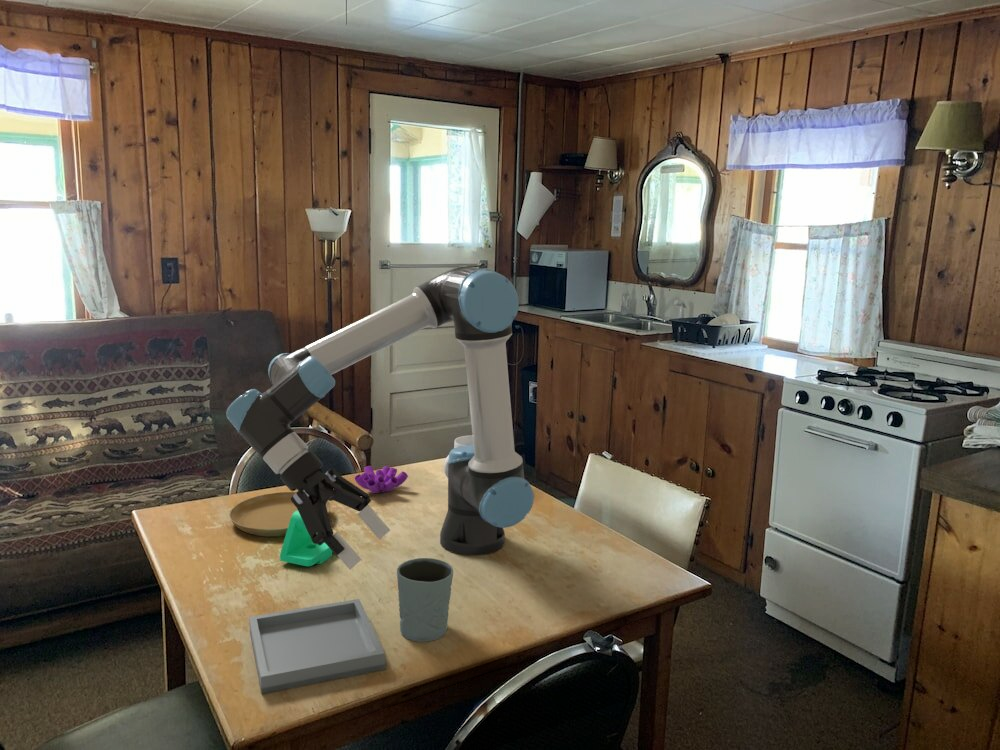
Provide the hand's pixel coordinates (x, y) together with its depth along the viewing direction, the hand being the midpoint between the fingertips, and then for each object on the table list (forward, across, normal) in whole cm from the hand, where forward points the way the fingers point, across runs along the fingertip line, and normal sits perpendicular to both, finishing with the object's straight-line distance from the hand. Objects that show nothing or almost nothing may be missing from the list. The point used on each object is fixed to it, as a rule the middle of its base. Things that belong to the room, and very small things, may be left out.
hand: (371, 549), depth 143 cm
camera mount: (-6, -23, -28) cm, 36 cm away
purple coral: (-7, -66, -28) cm, 72 cm away
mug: (+8, -78, -13) cm, 80 cm away
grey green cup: (+18, 0, -3) cm, 18 cm away
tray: (+6, +12, -14) cm, 20 cm away
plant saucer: (-18, -40, -39) cm, 59 cm away
